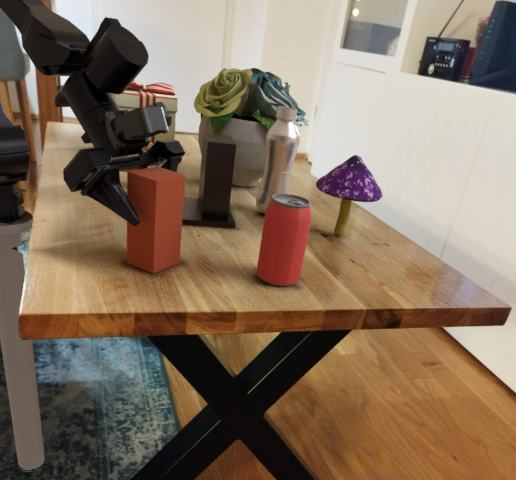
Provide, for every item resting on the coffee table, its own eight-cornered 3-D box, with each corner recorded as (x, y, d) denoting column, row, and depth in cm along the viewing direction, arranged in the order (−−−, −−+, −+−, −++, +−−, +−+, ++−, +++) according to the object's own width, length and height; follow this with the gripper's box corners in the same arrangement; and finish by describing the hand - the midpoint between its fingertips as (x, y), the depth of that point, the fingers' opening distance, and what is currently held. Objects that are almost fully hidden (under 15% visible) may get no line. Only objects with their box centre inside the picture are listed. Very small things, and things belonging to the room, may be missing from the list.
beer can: (285, 292, 72) (301, 210, 66) (247, 277, 75) (258, 196, 69) (306, 279, 78) (322, 201, 71) (269, 265, 80) (282, 189, 74)
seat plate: (134, 221, 89) (135, 136, 82) (135, 197, 100) (136, 121, 93) (235, 228, 93) (245, 148, 86) (225, 205, 104) (233, 133, 97)
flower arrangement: (253, 168, 137) (267, 66, 124) (310, 196, 120) (332, 81, 107) (169, 168, 124) (174, 54, 111) (219, 200, 107) (232, 69, 94)
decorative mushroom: (300, 238, 94) (317, 153, 86) (312, 220, 104) (328, 143, 96) (367, 253, 92) (390, 168, 84) (372, 233, 102) (393, 156, 94)
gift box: (161, 146, 144) (163, 78, 135) (179, 163, 130) (183, 89, 121) (98, 142, 137) (97, 71, 128) (111, 160, 123) (110, 80, 114)
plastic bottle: (257, 206, 107) (272, 103, 96) (289, 213, 106) (307, 109, 96) (251, 215, 101) (266, 106, 91) (284, 221, 100) (303, 112, 90)
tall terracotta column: (126, 263, 73) (127, 171, 67) (154, 252, 78) (157, 166, 71) (153, 274, 72) (156, 180, 65) (179, 262, 76) (185, 174, 69)
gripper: (74, 75, 57) (147, 198, 58) (178, 78, 71) (235, 177, 73) (32, 135, 64) (99, 243, 65) (135, 126, 78) (187, 216, 80)
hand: (160, 217), depth 71 cm, fingers open, 9 cm apart
